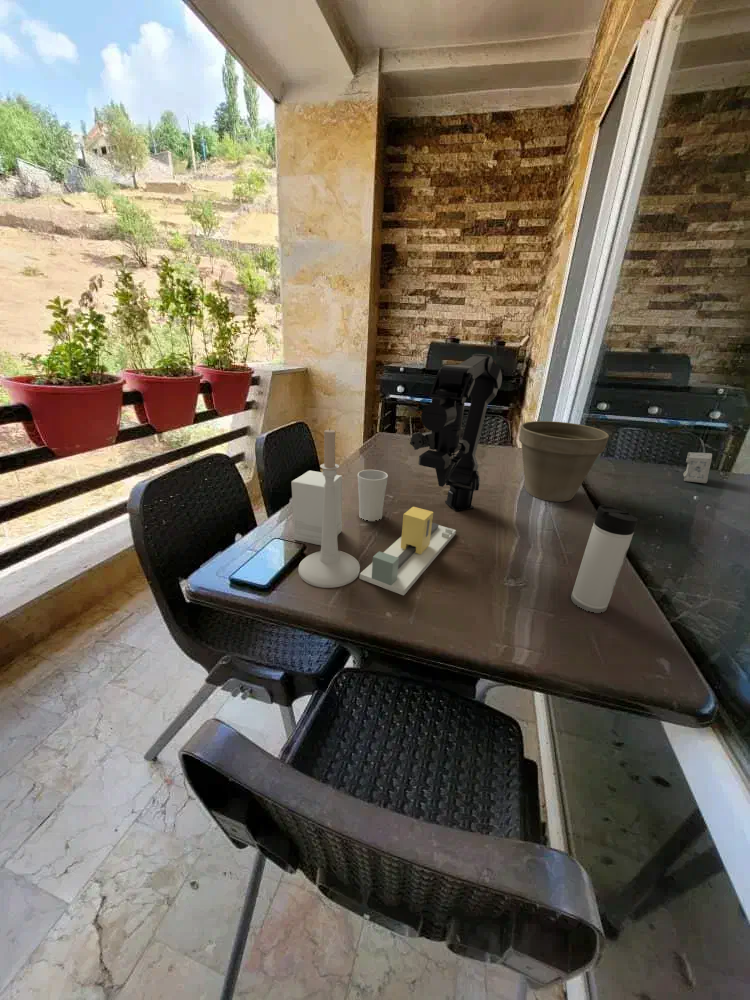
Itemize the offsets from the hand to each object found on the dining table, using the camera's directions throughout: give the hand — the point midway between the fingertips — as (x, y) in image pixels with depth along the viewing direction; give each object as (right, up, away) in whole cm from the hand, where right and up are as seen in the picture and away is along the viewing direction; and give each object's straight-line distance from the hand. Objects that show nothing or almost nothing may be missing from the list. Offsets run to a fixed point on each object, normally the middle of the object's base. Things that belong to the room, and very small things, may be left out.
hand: (441, 485), depth 96 cm
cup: (-18, -8, +10) cm, 22 cm away
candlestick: (-26, -18, -14) cm, 35 cm away
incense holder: (+105, +4, +53) cm, 118 cm away
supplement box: (-30, -12, -1) cm, 33 cm away
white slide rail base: (-8, -16, -7) cm, 19 cm away
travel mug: (+25, -24, -21) cm, 40 cm away
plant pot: (+41, -2, +32) cm, 52 cm away
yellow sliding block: (-7, -14, -7) cm, 17 cm away
